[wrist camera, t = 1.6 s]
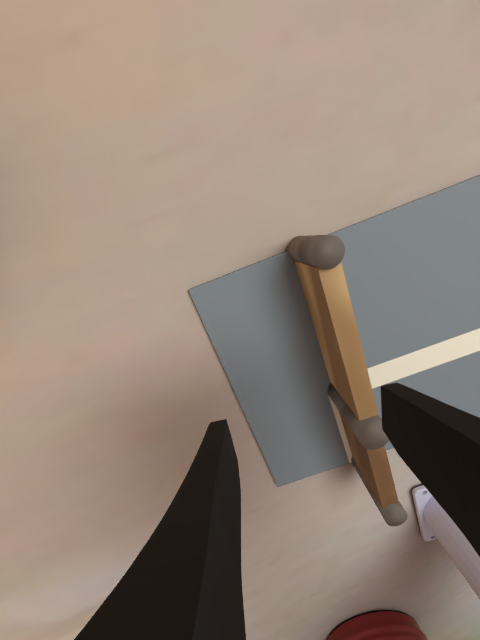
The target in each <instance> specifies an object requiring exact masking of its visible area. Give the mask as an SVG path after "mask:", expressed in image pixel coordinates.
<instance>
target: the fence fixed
mask: <svg viewBox="0 0 480 640" xmlns="http://www.w3.org/2000/svg"><path fill="white" fill-rule="evenodd" d="M327 392H328V395H329V397H330V398H331V400H332V401H333V403H334V404H335V406H336V407H337V409H338V410H339V413H340V417H341V420H342V423H343V426H344V430H345V433H346V436H347V440H348V443H349V446H350V449H351V453H352V458H351V462H352V464H353V465H354V467H355V469H356V471H357V472H358V474H359V476H360V478H361V479H362V481H363V483H364V485H365V486H366V488H367V490H368V492H369V493H370V495H371V497H372V499H373V500H374V502H375V504H376V506H377V507H378V509H379V511H380V513H381V514H382V516H383V518H384V520H385V521H386V523H387V524H388V525H390V526H398V525H401V524H402V523H404V522H405V521H406V519H407V517H408V516H407V513H406V511H405V510H404V508H403V507H402V505H401V504H400V502H399V501H398V498H397V494H396V490H395V486H394V482H393V478H392V474H391V470H390V465H389V461H388V457H387V453H386V449H385V445H386V444H387V443H388V442H389V439H388V437H387V436H386V434H385V433H384V431H383V429H382V419H381V418H380V417H379V415H376V416H373V417H370V418H367V419H364V420H361V421H359V419H358V418H357V417H356V415H355V414H354V413H353V411H352V410H351V409H350V407H349V406H348V405H347V403H346V402H345V401H344V399H343V398H342V397H341V395H340V394H339V393H338V391H337V390H336V389H335V387H334V386H333V384H332V383H331V384H330V385H329V387H328V390H327Z"/></svg>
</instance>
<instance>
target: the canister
mask: <svg viewBox="0 0 480 640" xmlns="http://www.w3.org/2000/svg"><path fill="white" fill-rule="evenodd" d="M328 640H428V639H427V637H426V635H425V634H424V633H423V632H422V630H421V629H420V627H419V625H418V624H417V622H416V621H415V620H414V619H413V618H412V617H410V616H408V615H406V614H404V613H400V612H394V611H379V612H372V613H367V614H363V615H360V616H357V617H355V618H352V619H350V620H348V621H346V622H345V623H343V624H342V625H340V626H339V627H338V628H336V629H335V630H334V631H333V632H332V634H331V635H330V636H329V638H328Z"/></svg>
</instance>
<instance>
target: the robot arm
mask: <svg viewBox="0 0 480 640" xmlns="http://www.w3.org/2000/svg"><path fill="white" fill-rule="evenodd" d="M381 410H382V429H383V431H384V433H385V434H386V436H387V437H388V439H389V441H390V442H391V444H392V445H393V447H394V448H395V450H396V451H397V453H398V454H399V456H400V457H401V458H402V459H403V461H404V462H405V463H406V464H407V466H408V467H409V468H410V469H411V470H412V472H413V473H414V474H415V475H416V477H417V478H418V479H419V480H420V481H421V483H422V484H423V485H422V486H419V487H416V488H414V489H413V490H412V494H413V499H414V503H415V508H416V512H417V517H418V522H419V526H420V531H421V536H422V538H423V539H424V541H427V542H428V541H432V540H435V539H438V541H439V542H440V544H441V545H442V547H443V548H444V549H445V551H446V552H447V554H448V555H449V556H450V558H451V559H452V561H453V562H454V563H455V565H456V566H457V568H458V569H459V570H460V572H461V573H462V575H463V576H464V578H465V579H466V580H467V582H468V583H469V585H470V586H471V587H472V589H473V590H474V592H475V593H476V594H477V596H478V597H479V599H480V418H479V417H477V416H475V415H472V414H470V413H467V412H465V411H462V410H460V409H458V408H455V407H453V406H451V405H448V404H446V403H444V402H441V401H439V400H437V399H435V398H432V397H430V396H428V395H425V394H423V393H421V392H419V391H416V390H414V389H412V388H409V387H407V386H404V385H402V384H399V383H397V382H396V383H392V384H387V385H382V386H381ZM74 640H246V634H245V621H244V608H243V595H242V579H241V489H240V478H239V469H238V460H237V456H236V453H235V449H234V445H233V442H232V438H231V434H230V431H229V427H228V424H227V420H226V419H225V420H220V421H215V422H211V423H210V424H209V426H208V428H207V431H206V433H205V436H204V438H203V441H202V443H201V445H200V448H199V450H198V452H197V454H196V456H195V459H194V461H193V463H192V465H191V467H190V469H189V471H188V473H187V475H186V477H185V479H184V481H183V483H182V485H181V486H180V488H179V490H178V492H177V494H176V496H175V498H174V499H173V501H172V503H171V505H170V506H169V508H168V510H167V511H166V513H165V515H164V516H163V518H162V520H161V521H160V523H159V525H158V526H157V528H156V529H155V531H154V532H153V534H152V536H151V537H150V539H149V540H148V542H147V543H146V545H145V546H144V547H143V549H142V550H141V552H140V553H139V555H138V556H137V558H136V559H135V561H134V562H133V564H132V565H131V566H130V568H129V569H128V571H127V572H126V573H125V575H124V576H123V577H122V579H121V580H120V582H119V583H118V584H117V586H116V587H115V588H114V589H113V591H112V592H111V593H110V595H109V596H108V597H107V598H106V600H105V601H104V602H103V604H102V605H101V606H100V607H99V609H98V610H97V611H96V613H95V614H94V615H93V616H92V618H91V619H90V620H89V622H88V623H87V624H86V626H85V627H84V628H83V629H82V631H81V632H80V633H79V634H78V635H77V637H76V638H75V639H74Z"/></svg>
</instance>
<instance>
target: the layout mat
mask: <svg viewBox="0 0 480 640" xmlns="http://www.w3.org/2000/svg"><path fill="white" fill-rule="evenodd" d="M328 235H334V236H337V237H339V238H340V239H341V240H342V242H343V244H344V246H345V254H344V257H343V260H342V261H341V263H342V267H343V271H344V275H345V279H346V284H347V288H348V292H349V296H350V300H351V304H352V308H353V312H354V316H355V321H356V325H357V329H358V333H359V337H360V341H361V345H362V349H363V353H364V358H365V362H366V366H367V370H368V374H369V378H370V382H371V386H372V390H373V395H374V399H375V403H376V407H377V411H378V415H379V417H380V418H381V419H382V410H381V386H382V385H387V384H392V383H396V382H397V383H399V384H402V385H404V386H407V387H409V388H412V389H414V390H416V391H419V392H421V393H423V394H425V395H428V396H430V397H432V398H435V399H437V400H439V401H441V402H444V403H446V404H448V405H451V406H453V407H455V408H458V409H460V410H462V411H465V412H467V413H470V414H472V415H475V416H477V417H479V418H480V175H478V176H476V177H473V178H471V179H468V180H465V181H463V182H460V183H458V184H455V185H453V186H450V187H448V188H445V189H443V190H440V191H438V192H435V193H432V194H430V195H427V196H425V197H422V198H420V199H417V200H415V201H412V202H410V203H407V204H404V205H402V206H399V207H397V208H394V209H392V210H389V211H387V212H384V213H382V214H379V215H377V216H374V217H371V218H369V219H366V220H364V221H361V222H359V223H356V224H354V225H351V226H349V227H346V228H344V229H341V230H338V231H336V232H333V233H331V234H328ZM294 261H295V260H293V259H292V258H291V257H290V256H289V254H288V251H285V252H283V253H280V254H277V255H275V256H272V257H270V258H267V259H265V260H262V261H260V262H257V263H255V264H252V265H250V266H247V267H244V268H242V269H239V270H237V271H234V272H232V273H229V274H227V275H224V276H222V277H219V278H216V279H214V280H211V281H209V282H206V283H204V284H201V285H199V286H196V287H194V288H191V289H189V290H188V291H189V293H190V295H191V298H192V300H193V302H194V304H195V306H196V309H197V311H198V313H199V315H200V317H201V320H202V322H203V324H204V326H205V328H206V331H207V333H208V335H209V337H210V339H211V342H212V344H213V346H214V348H215V350H216V353H217V355H218V357H219V359H220V361H221V363H222V366H223V368H224V370H225V372H226V374H227V377H228V379H229V381H230V383H231V385H232V388H233V390H234V392H235V394H236V396H237V399H238V401H239V403H240V405H241V407H242V410H243V412H244V414H245V416H246V418H247V421H248V423H249V425H250V427H251V429H252V432H253V434H254V436H255V438H256V440H257V443H258V445H259V447H260V449H261V451H262V454H263V456H264V458H265V460H266V462H267V465H268V467H269V469H270V471H271V473H272V476H273V478H274V480H275V482H276V484H277V487H279V486H282V485H285V484H288V483H291V482H294V481H297V480H300V479H303V478H306V477H309V476H312V475H315V474H318V473H321V472H324V471H326V470H329V469H332V468H335V467H338V466H341V465H344V464H347V463H351V458H352V453H351V449H350V446H349V443H348V440H347V436H346V433H345V430H344V426H343V423H342V420H341V417H340V413H339V410H338V409H337V407H336V406H335V404H334V403H333V401H332V400H331V398H330V397H329V395H328V392H327V390H328V387H329V385H330V384H331V382H330V378H329V375H328V372H327V369H326V365H325V362H324V359H323V355H322V352H321V349H320V345H319V342H318V339H317V336H316V332H315V329H314V326H313V322H312V319H311V316H310V313H309V309H308V306H307V303H306V299H305V296H304V293H303V289H302V286H301V283H300V280H299V276H298V273H297V270H296V266H295V263H294ZM391 448H394V447H393V445H392V444H391V442H390V441H389V442H388V443H387V444H386V445H385V449H386V450H388V449H391Z"/></svg>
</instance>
